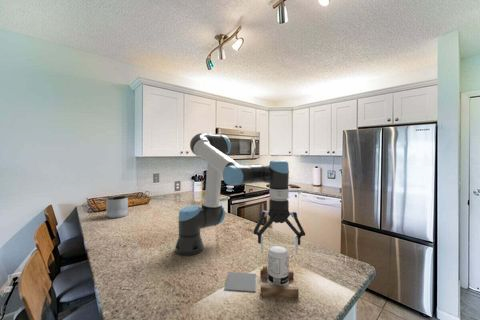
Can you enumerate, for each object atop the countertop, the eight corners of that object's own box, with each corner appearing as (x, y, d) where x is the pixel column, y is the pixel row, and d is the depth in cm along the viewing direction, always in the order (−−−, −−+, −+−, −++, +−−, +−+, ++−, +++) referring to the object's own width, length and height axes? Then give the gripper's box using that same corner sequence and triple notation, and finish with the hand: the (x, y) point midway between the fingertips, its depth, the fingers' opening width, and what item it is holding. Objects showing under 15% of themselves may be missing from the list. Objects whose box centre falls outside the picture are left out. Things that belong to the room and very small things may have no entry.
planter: (112, 219, 169) (112, 200, 169) (102, 216, 178) (102, 198, 178) (131, 215, 183) (131, 197, 182) (121, 212, 191) (121, 195, 191)
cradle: (260, 295, 79) (260, 283, 79) (260, 275, 93) (260, 265, 92) (298, 297, 78) (298, 285, 78) (292, 277, 91) (292, 266, 91)
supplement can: (265, 280, 89) (266, 244, 89) (284, 279, 90) (285, 244, 89) (270, 292, 81) (270, 253, 81) (291, 291, 82) (291, 253, 81)
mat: (224, 290, 82) (224, 289, 82) (228, 273, 94) (228, 272, 94) (255, 292, 81) (255, 291, 81) (255, 274, 93) (255, 273, 93)
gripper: (247, 200, 82) (247, 254, 82) (313, 201, 80) (313, 257, 80) (248, 196, 89) (248, 246, 90) (308, 197, 87) (308, 249, 87)
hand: (278, 252), depth 85 cm, fingers open, 13 cm apart
